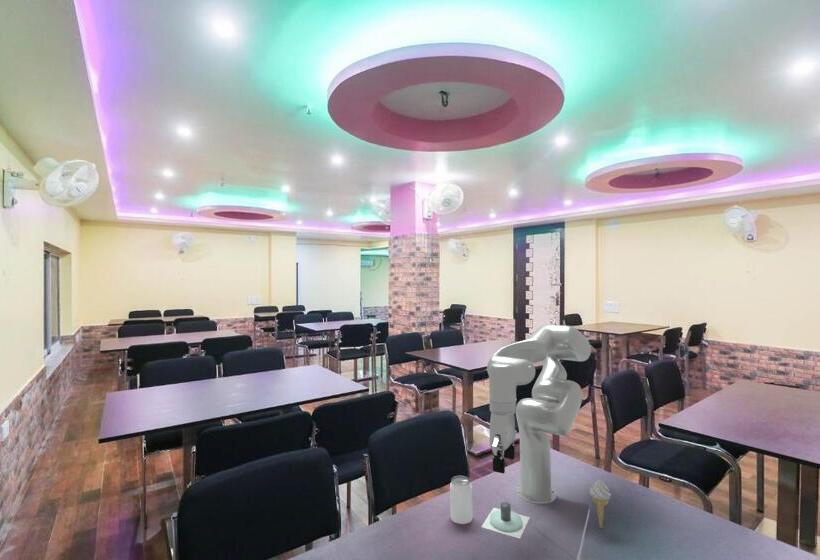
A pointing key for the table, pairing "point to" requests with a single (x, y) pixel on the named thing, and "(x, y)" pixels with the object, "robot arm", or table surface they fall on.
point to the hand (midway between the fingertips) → (504, 464)
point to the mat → (514, 534)
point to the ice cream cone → (600, 498)
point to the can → (461, 500)
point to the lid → (506, 519)
